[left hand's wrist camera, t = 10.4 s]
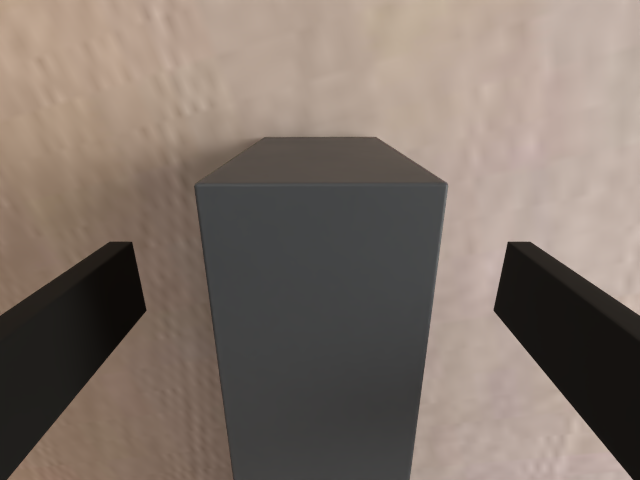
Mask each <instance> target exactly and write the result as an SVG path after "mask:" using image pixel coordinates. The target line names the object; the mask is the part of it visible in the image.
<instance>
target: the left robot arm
mask: <svg viewBox="0 0 640 480" xmlns="http://www.w3.org/2000/svg"><path fill="white" fill-rule="evenodd" d="M145 312H146V306H145V301H144V296H143V292H142V287H141V282H140V277H139V272H138V268H137V263H136V258H135V253H134V249H133V244H132V242H109V243H107V244H106V245H104V246H103V247H101V248H100V249H98V250H97V251H95V252H94V253H93V254H91V255H90V256H88V257H87V258H85V259H84V260H82V261H81V262H79V263H78V264H76V265H75V266H73V267H72V268H70V269H69V270H67V271H66V272H64V273H63V274H61V275H60V276H58V277H57V278H55V279H54V280H53V281H51V282H50V283H48V284H47V285H45V286H44V287H42V288H41V289H39V290H38V291H36V292H35V293H33V294H32V295H30V296H29V297H27V298H26V299H24V300H23V301H21V302H20V303H18V304H17V305H15V306H14V307H12V308H11V309H10V310H8V311H7V312H5V313H4V314H2V315H1V316H0V480H7V479H8V478H9V476H10V475H11V474H12V473H13V472H14V470H15V469H16V468H17V467H18V466H19V464H20V463H21V462H22V461H23V460H24V458H25V457H26V456H27V455H28V453H29V452H30V451H31V450H32V449H33V447H34V446H35V445H36V444H37V443H38V441H39V440H40V439H41V438H42V436H43V435H44V434H45V433H46V432H47V430H48V429H49V428H50V427H51V426H52V424H53V423H54V422H55V421H56V419H57V418H58V417H59V416H60V415H61V413H62V412H63V411H64V410H65V409H66V407H67V406H68V405H69V404H70V403H71V401H72V400H73V399H74V398H75V396H76V395H77V394H78V393H79V392H80V390H81V389H82V388H83V387H84V386H85V384H86V383H87V382H88V381H89V379H90V378H91V377H92V376H93V375H94V373H95V372H96V371H97V370H98V369H99V367H100V366H101V365H102V364H103V363H104V361H105V360H106V359H107V358H108V356H109V355H110V354H111V353H112V352H113V350H114V349H115V348H116V347H117V346H118V344H119V343H120V342H121V341H122V339H123V338H124V337H125V336H126V335H127V333H128V332H129V331H130V330H131V329H132V327H133V326H134V325H135V324H136V322H137V321H138V320H139V319H140V318H141V316H142V315H143V314H144V313H145ZM494 312H495V313H496V314H497V315H498V316H499V318H500V319H501V320H502V321H503V322H504V324H505V325H506V326H507V327H508V329H509V330H510V331H511V332H512V333H513V335H514V336H515V337H516V338H517V339H518V341H519V342H520V343H521V344H522V346H523V347H524V348H525V349H526V350H527V352H528V353H529V354H530V355H531V356H532V358H533V359H534V360H535V361H536V363H537V364H538V365H539V366H540V367H541V369H542V370H543V371H544V372H545V373H546V375H547V376H548V377H549V378H550V379H551V381H552V382H553V383H554V384H555V386H556V387H557V388H558V389H559V390H560V392H561V393H562V394H563V395H564V396H565V398H566V399H567V400H568V401H569V403H570V404H571V405H572V406H573V407H574V409H575V410H576V411H577V412H578V413H579V415H580V416H581V417H582V418H583V419H584V421H585V422H586V423H587V424H588V426H589V427H590V428H591V429H592V430H593V432H594V433H595V434H596V435H597V436H598V438H599V439H600V440H601V441H602V443H603V444H604V445H605V446H606V447H607V449H608V450H609V451H610V452H611V453H612V455H613V456H614V457H615V458H616V460H617V461H618V462H619V463H620V464H621V466H622V467H623V468H624V469H625V470H626V472H627V473H628V474H629V475H630V476H631V478H632V479H633V480H640V316H639V315H638V314H636V313H635V312H633V311H632V310H630V309H629V308H628V307H626V306H625V305H623V304H622V303H620V302H619V301H617V300H616V299H614V298H613V297H611V296H610V295H608V294H607V293H605V292H604V291H602V290H601V289H599V288H598V287H596V286H595V285H593V284H592V283H590V282H589V281H587V280H586V279H585V278H583V277H582V276H580V275H579V274H577V273H576V272H574V271H573V270H571V269H570V268H568V267H567V266H565V265H564V264H562V263H561V262H559V261H558V260H556V259H555V258H553V257H552V256H550V255H549V254H547V253H546V252H545V251H543V250H542V249H540V248H539V247H537V246H536V245H534V244H533V243H531V242H508V244H507V249H506V253H505V258H504V263H503V268H502V273H501V277H500V282H499V287H498V292H497V296H496V301H495V306H494Z"/></svg>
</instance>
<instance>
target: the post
mask: <svg viewBox="0 0 640 480" xmlns="http://www.w3.org/2000/svg"><path fill="white" fill-rule="evenodd" d="M194 188H195V195H196V203H197V210H198V217H199V225H200V232H201V240H202V247H203V255H204V262H205V270H206V277H207V285H208V292H209V300H210V307H211V315H212V322H213V330H214V337H215V345H216V352H217V360H218V367H219V375H220V382H221V390H222V397H223V405H224V412H225V419H226V427H227V434H228V442H229V449H230V457H231V464H232V472H233V479H234V480H410V472H411V465H412V457H413V450H414V442H415V434H416V427H417V419H418V411H419V404H420V396H421V389H422V381H423V373H424V366H425V358H426V350H427V343H428V335H429V328H430V320H431V312H432V305H433V297H434V289H435V282H436V274H437V267H438V259H439V251H440V244H441V236H442V228H443V221H444V213H445V205H446V198H447V190H448V184H447V183H446V182H445V181H443V180H442V179H440V178H439V177H437V176H435V175H434V174H432V173H431V172H429V171H428V170H426V169H425V168H423V167H422V166H420V165H418V164H417V163H415V162H414V161H412V160H411V159H409V158H408V157H406V156H405V155H403V154H401V153H400V152H398V151H397V150H395V149H394V148H392V147H391V146H389V145H388V144H386V143H384V142H383V141H381V140H380V139H378V138H377V137H265V138H263V139H261V140H260V141H258V142H257V143H256V144H254V145H253V146H251V147H250V148H248V149H247V150H245V151H244V152H242V153H241V154H239V155H238V156H236V157H235V158H233V159H232V160H230V161H229V162H227V163H226V164H224V165H223V166H221V167H220V168H218V169H217V170H215V171H214V172H212V173H211V174H209V175H208V176H206V177H205V178H203V179H202V180H200V181H199V182H197V183H196V184H195V186H194Z"/></svg>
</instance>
